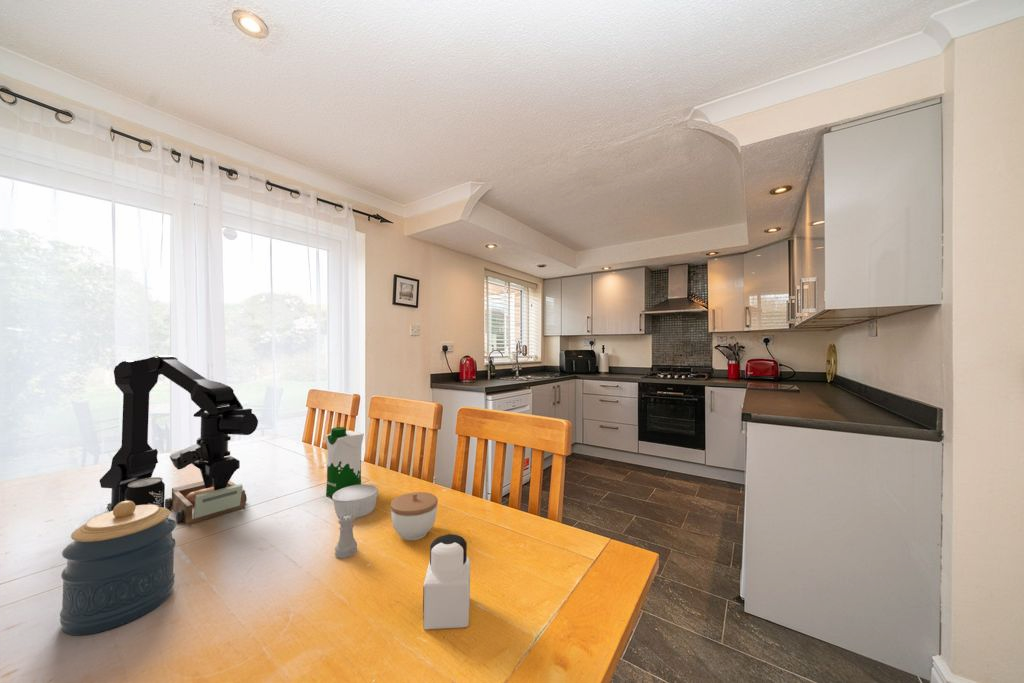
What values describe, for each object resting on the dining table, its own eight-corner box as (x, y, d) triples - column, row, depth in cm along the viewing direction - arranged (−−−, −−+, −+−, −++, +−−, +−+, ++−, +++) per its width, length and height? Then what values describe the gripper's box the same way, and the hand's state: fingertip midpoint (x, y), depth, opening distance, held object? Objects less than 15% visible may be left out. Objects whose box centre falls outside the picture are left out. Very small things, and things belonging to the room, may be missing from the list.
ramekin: (322, 516, 93) (322, 496, 93) (355, 499, 103) (356, 481, 104) (354, 524, 89) (355, 503, 89) (386, 506, 99) (386, 487, 99)
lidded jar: (446, 533, 85) (446, 493, 85) (405, 551, 77) (406, 508, 77) (421, 518, 92) (421, 481, 93) (381, 533, 85) (382, 494, 85)
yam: (184, 504, 97) (184, 492, 97) (220, 494, 104) (220, 483, 104) (187, 507, 95) (187, 495, 95) (224, 497, 102) (224, 485, 102)
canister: (67, 652, 51) (71, 528, 52) (52, 615, 58) (56, 506, 58) (185, 598, 62) (188, 496, 63) (161, 573, 69) (163, 481, 70)
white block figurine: (429, 598, 63) (430, 530, 63) (469, 596, 63) (470, 528, 64) (422, 630, 56) (423, 553, 56) (468, 628, 56) (469, 551, 57)
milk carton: (321, 496, 106) (322, 428, 106) (349, 486, 113) (350, 422, 114) (338, 503, 101) (339, 432, 101) (366, 492, 108) (367, 426, 109)
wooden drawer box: (163, 506, 98) (164, 489, 98) (227, 490, 109) (227, 475, 109) (180, 526, 87) (181, 507, 87) (249, 505, 99) (249, 489, 99)
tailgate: (193, 516, 89) (195, 495, 88) (238, 503, 97) (241, 483, 96) (194, 519, 89) (197, 497, 88) (240, 506, 96) (243, 486, 95)
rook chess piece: (362, 549, 78) (362, 512, 78) (346, 561, 74) (347, 522, 74) (345, 545, 79) (346, 509, 79) (329, 557, 75) (330, 518, 75)
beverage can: (137, 541, 80) (139, 488, 80) (115, 538, 81) (117, 485, 82) (171, 527, 87) (172, 477, 87) (150, 524, 88) (151, 475, 88)
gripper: (164, 433, 95) (163, 492, 94) (184, 446, 84) (182, 513, 83) (217, 426, 104) (216, 480, 103) (241, 436, 93) (239, 497, 92)
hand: (213, 491), depth 95 cm, fingers open, 8 cm apart
